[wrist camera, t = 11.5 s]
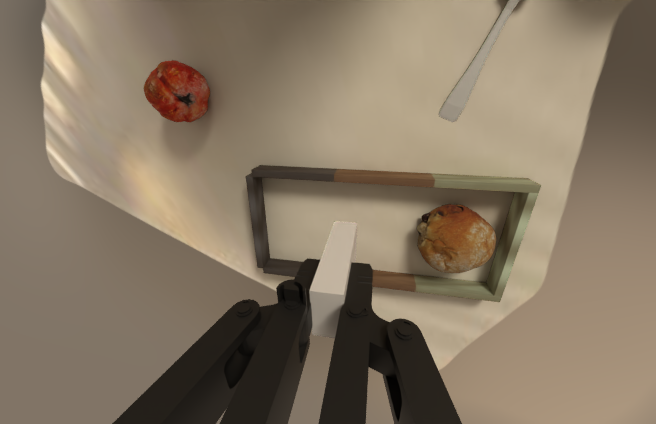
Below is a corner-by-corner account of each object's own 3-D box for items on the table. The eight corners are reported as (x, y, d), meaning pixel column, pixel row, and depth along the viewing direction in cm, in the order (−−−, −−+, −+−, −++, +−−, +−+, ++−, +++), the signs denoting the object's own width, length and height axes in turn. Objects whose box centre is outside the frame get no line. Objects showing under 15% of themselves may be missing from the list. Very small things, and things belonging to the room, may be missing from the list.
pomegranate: (185, 112, 41) (206, 144, 35) (129, 91, 35) (145, 124, 30) (204, 68, 38) (229, 94, 33) (147, 37, 32) (167, 63, 27)
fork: (431, 114, 35) (434, 118, 32) (553, -107, 24) (570, -126, 21) (450, 122, 35) (454, 127, 32) (581, -95, 24) (602, -113, 21)
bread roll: (428, 251, 44) (450, 293, 38) (397, 224, 38) (417, 268, 32) (484, 220, 40) (518, 261, 34) (458, 184, 34) (494, 226, 28)
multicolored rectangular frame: (254, 164, 39) (244, 169, 37) (528, 178, 33) (541, 185, 30) (265, 262, 47) (258, 272, 44) (491, 288, 40) (499, 302, 38)
